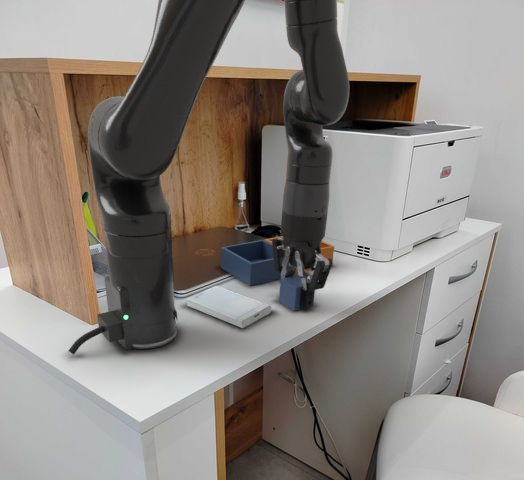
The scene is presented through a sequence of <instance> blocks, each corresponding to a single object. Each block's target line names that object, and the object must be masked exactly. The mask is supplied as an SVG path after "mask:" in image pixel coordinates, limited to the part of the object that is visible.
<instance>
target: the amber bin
mask: <svg viewBox="0 0 524 480" xmlns="http://www.w3.org/2000/svg"><path fill="white" fill-rule="evenodd" d="M282 237H283V236H282V235H280V236H276V237H275V236H274V237H269V238H265V239H264V240H265V241H267V242H269V243H271V244H272V240H273V239H277V238H282ZM320 248H321V255H322V256H323V257H324V258H326V259H329V258H330V259H332V261H334V253H335V245H332V244H330V243H328V242H325V241H323V240H322V241H321V243H320ZM310 269H311V268H309V269H304V270H305V271H309V270H310ZM295 275H298V268H297V270H296V273H295Z"/></svg>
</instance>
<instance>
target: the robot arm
mask: <svg viewBox="0 0 524 480" xmlns="http://www.w3.org/2000/svg"><path fill="white" fill-rule="evenodd" d="M245 2H246V0H158V1H157V7H156V14H155V21H154V26H153V32H152V36H151V40H150V44H149V47H148V50H147V51H146V55H145V58H144V59H143V61H142V64H141V66H140V67H139V69H138V71H137V73H136V75H135V77H134V79H133V81H132V83H131V84H130V86H129V88H128V90H127V91H126V93H125V95H124V96H123V95H122V96H121V95H120V96H119V95H118V96H112V97H108V98H106V99H104V100H103V101H101V102H100V103H99V104H97V105H96V107H95V108H94V110H93V111H92V113H91V115H90V118H89V120H88V127H87V140H88V141H87V143H88V152H89V159H90V166H91V173H92V180H93V186H94V192H95V199H96V203H97V205H98V209H99V212H100V215H101V221H102V227H103V228H102V229H103V236H104V245H105V255H106V264H107V271H108V276H105V277H104V287H105V294H106V303H107V311H106V312H101V313H97V315H96V317H97V324H98V327H96V328H94V329H92V330H90V331H87V332H86V333H84V334H82V336H80V337H79V338H77V339H76V340H75V341H74V343H73V344H72V345H71V346H70V347H69V349H68V352H69V353H71V354H72V355H75V354H76V353H77V351H78V350H79V349H80V348H81V346H82V345H84V343H86V342H87V341H89V340H90V339H92V338H95V337H96V336H98V335H100V334H101V335H102V336H103V337H104V338H105V339H106V340H107V341H108V342H109V344H110V343H114V342H117V343H119V345H120V346H122V347H123V349H124V350H126V351H129V350H132V349H139V350H147V349H154V348H158V347H159V348H160V347H163V346H166V345H167V344H169V343H171V342H173V340H174V339H175V338H176V336H177V320H178V312H177V309H176V305H175V303H176V302H175V283H174V282H175V281H174V259H173V236H172V235H173V233H172V214H171V208H170V205H169V203H168V201H167V199H166V196H165V194H164V190H163V187H162V182H161V175H162V174H164V172H166V171H167V170H168V168H169V167H170V165H171V164H172V162H173V160H174V158H175V156H176V154H177V151H178V149H179V146H180V144H181V141H182V138H183V136H184V132H185V129H186V128H187V125H188V121H189V119H190V116H191V114H192V111H193V108H194V106H195V103H196V100H197V98H198V95H199V94H200V91H201V88H202V86H203V84H204V82H205V80H206V78H207V76H208V75H209V72H210V71H211V69H212V67H213V65H214V63H215V61H216V59H217V57H218V55H219V53H220V51H221V50H222V47H223V45H224V43H225V41H226V39H227V37H228V34H229V33H230V31H231V29H232V27H233V25H234V24H235V22H236V21H237V18H238V16H239V14H240V12H241V10H242V8H243V6H244V4H245ZM283 5H284V19H285V25H286V26H285V28H286V29H285V30H286V37H287V42H288V45H289V47H290V49H292V50H293V51H294V52H295V53H297V54H298V56H299V58H300V61H301V66H302V67H301V68H302V69H299V70H297V71H296V72H295V73H293V74H292V75H291V77H290V78H289V79H288V82H287V83H286V86H285V90H284V93H283V101H282V104H283V105H282V110H283V111H282V113H283V121H284V129H285V130H284V131H285V138H286V143H287V159H286V161H287V162H286V174H285V184H284V188H283V195H282V207H281V223H280V234H281V235H280V236H283V237H282V238H277V239H273V240H272V245H273V255H274V264H275V270H276V272H280V273H281V279H282V278H286V277H290V276H294V275H295V273H296V270H297V268H298V274H297V275H298V276H299V277H300V278H301V283H302V289H301V297H300V308H302V309H301V310H306V309H309V308H311V307H313V306H312V304H313V305H314V303H313V295H314V296H315V294H314V290H315V291H316V290H321V289H322V290H323V289H324V288H325V285H326V282H327V280H328V277H329V274H330V272H331V269H332V266H333V261H334V260H333V261H332V259H330V258H329V259H326V258H324V257H323V256H322V255H321V248H320V243H321V241H323V239H324V238H325V236H326V230H327V222H328V213H329V206H330V204H329V203H330V184H331V183H330V182H331V174H332V167H333V166H332V165H333V147H332V145H331V144H330V142H328V141H327V140H326V139H325V137H324V133H323V130H324V129H323V126H330V125H333V124H335V123H337V122H338V121H340V119H341V118H342V117H343V115H344V114H345V112H346V110H347V107H348V104H349V98H350V79H349V73H348V69H347V64H346V59H345V55H344V50H343V46H342V44H341V40H340V37H339V32H338V0H283ZM280 258H282V259H283V262H282V264H281V265H280ZM309 268H311V269H310V270H309V271H305V270H304V269H309ZM307 278H308V279H310V282H308V279H307Z"/></svg>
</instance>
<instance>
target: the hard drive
mask: <svg viewBox="0 0 524 480" xmlns="http://www.w3.org/2000/svg"><path fill="white" fill-rule="evenodd" d="M186 306H187V307H188V308H189V307H190V308H192V309H195V310H197V311H198V312H201V313H204V314H207V315H209V316H211V317H213V318H217V319H219V320H222V321H224V322H226V323H229V324H231V325H234V326H236V327H238V328H240V329H244V328H246V327H248V326H249V325H252V324H253V323H255V322H256V321H258V320H260V319H262V318H264V317H265V316H268V315H269V314H270V313H272V306H271V304H267V303H265V302H262V301H259V300H256V299H254V298H251V297H249V296H246V295H243V294H241V293H237V292H235V291H232V290H230V289H227V288H225V287H222V286H219V285H214V286H212V287H210V288H207V289H204V290H203V291H201V292H198V293H196V294H194V295H192V296H189V297H188V298H187V300H186Z"/></svg>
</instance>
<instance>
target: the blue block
mask: <svg viewBox="0 0 524 480" xmlns="http://www.w3.org/2000/svg"><path fill="white" fill-rule="evenodd" d="M307 279H308V282H310V278H309V277H308V278H307ZM279 281H280V282H279V296H278V302H279V303H280V304H282V305H283V306H285V307H287V308H289V309H290V310H292V311H293V312H295V311H298V310H303V309H302V308H300V297H301V289H302V283H301V278H300V277H299V276H298V274H297V275H294V276H290V277H286V278H281V279H279ZM315 293H316V290H314V295H313V304H312V306H311V307H313V306H314V301H315V295H316V294H315Z"/></svg>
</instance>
